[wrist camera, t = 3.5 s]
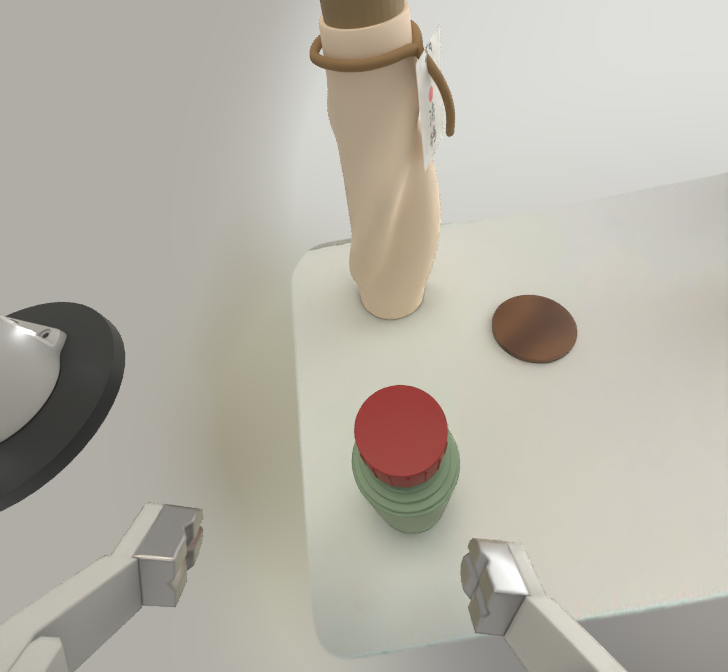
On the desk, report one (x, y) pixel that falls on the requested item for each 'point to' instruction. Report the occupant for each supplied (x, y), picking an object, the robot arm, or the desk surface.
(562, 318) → the coaster
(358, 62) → the water bottle
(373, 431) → the cap
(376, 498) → the bottle
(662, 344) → the desk surface
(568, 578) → the desk surface
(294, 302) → the desk surface
